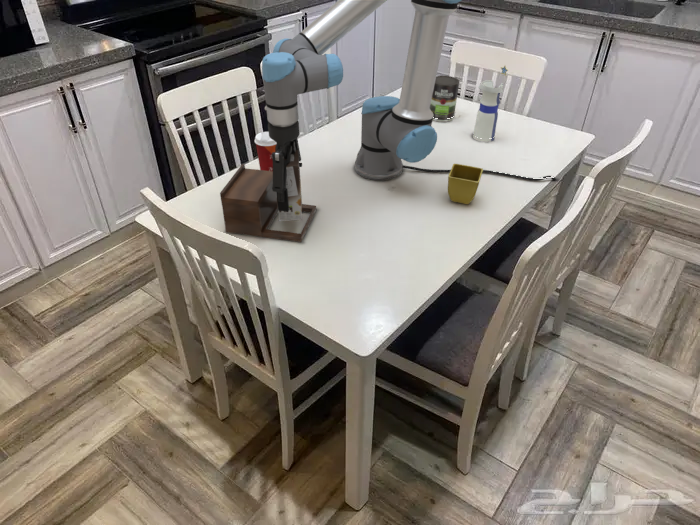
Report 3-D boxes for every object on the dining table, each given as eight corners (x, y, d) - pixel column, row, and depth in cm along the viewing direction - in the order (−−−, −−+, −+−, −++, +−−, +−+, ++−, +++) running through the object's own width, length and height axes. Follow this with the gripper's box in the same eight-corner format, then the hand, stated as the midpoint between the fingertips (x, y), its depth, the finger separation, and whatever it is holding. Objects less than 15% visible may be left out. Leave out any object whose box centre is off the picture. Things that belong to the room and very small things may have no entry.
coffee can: (454, 123, 202) (459, 86, 193) (426, 120, 203) (430, 84, 194) (454, 112, 210) (459, 76, 201) (428, 110, 211) (432, 74, 202)
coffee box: (302, 220, 142) (298, 166, 132) (278, 221, 142) (272, 167, 132) (302, 201, 149) (298, 149, 139) (279, 202, 149) (273, 150, 139)
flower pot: (478, 194, 161) (483, 167, 155) (474, 209, 154) (479, 182, 149) (449, 189, 163) (453, 162, 158) (444, 203, 157) (447, 176, 151)
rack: (316, 210, 153) (315, 172, 146) (301, 242, 141) (299, 202, 133) (246, 201, 156) (242, 164, 149) (226, 232, 144) (219, 193, 136)
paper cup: (278, 185, 164) (275, 143, 155) (255, 182, 165) (250, 140, 156) (286, 173, 170) (283, 131, 161) (263, 170, 171) (259, 129, 162)
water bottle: (477, 130, 197) (488, 60, 182) (498, 136, 193) (512, 66, 178) (467, 137, 192) (478, 67, 176) (489, 144, 188) (502, 72, 173)
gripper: (282, 101, 139) (288, 177, 153) (252, 140, 121) (262, 221, 135) (310, 104, 138) (313, 179, 151) (284, 143, 120) (291, 224, 134)
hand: (289, 199), depth 143 cm, fingers closed on coffee box, 10 cm apart
